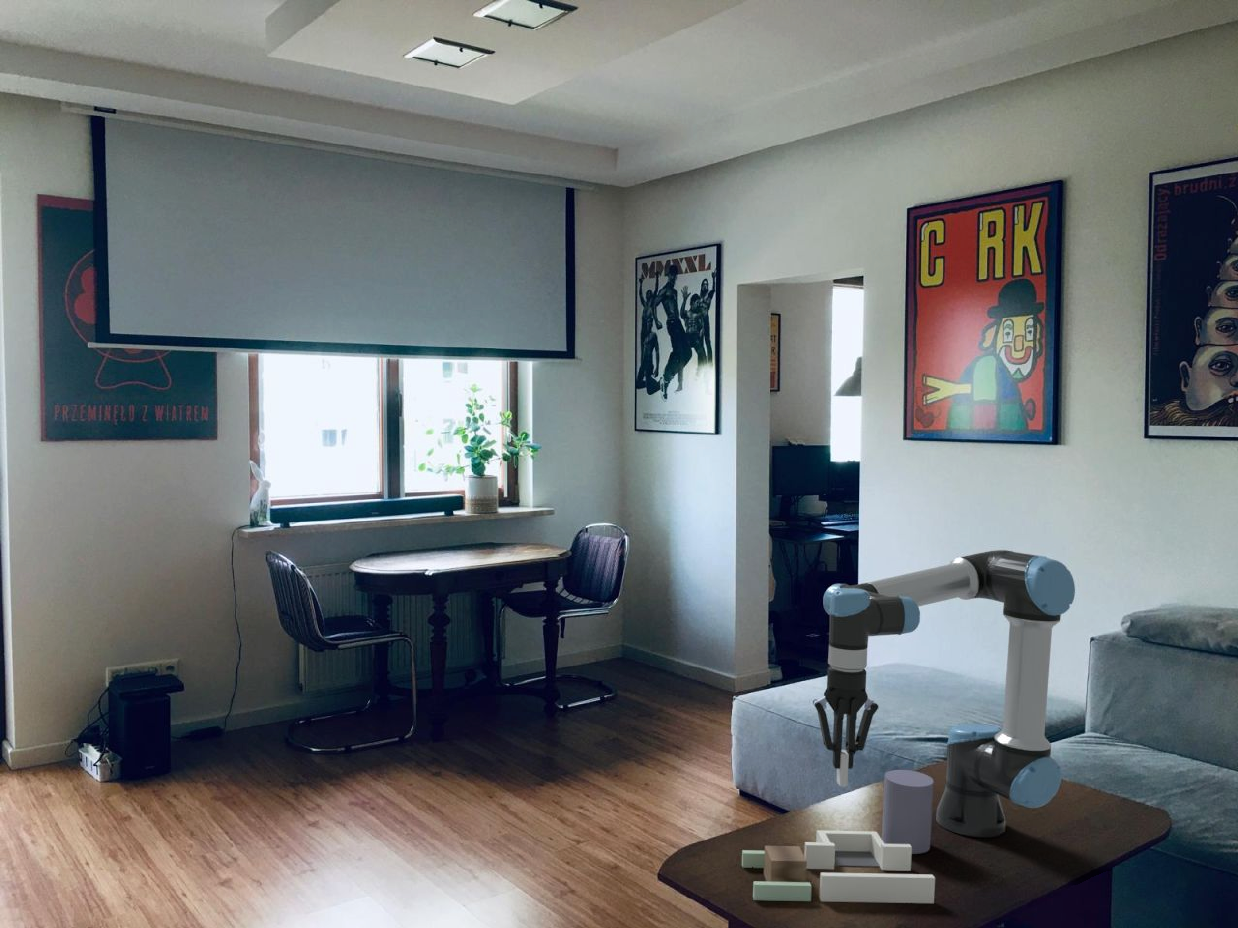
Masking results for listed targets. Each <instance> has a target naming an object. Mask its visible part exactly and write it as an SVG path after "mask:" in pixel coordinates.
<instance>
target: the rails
mask: <svg viewBox="0 0 1238 928" xmlns="http://www.w3.org/2000/svg"><path fill="white" fill-rule="evenodd" d="M764 855H765V850H755V849H753V850H752V849H751V850H749V849H747V850H745V849H742V850H741V867H742V868H743V869H747V868H748V869H749V868H750V869H751V868H752V867H753V868H752V869H764ZM752 886H753V887H752V898H753V901H780V902H781V901H784V902H785V901H786V902H787V901H789V902H795V901H796V902H812V887H813V886H812V884H811V882H810V881H809V882H808V881H806V882H767V881H766V880H765V881H757V880H756V881H755V880H754V881H753V883H752Z"/></svg>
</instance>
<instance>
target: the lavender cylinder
mask: <svg viewBox="0 0 1238 928" xmlns="http://www.w3.org/2000/svg"><path fill="white" fill-rule="evenodd" d="M883 786H884V787H883V801H882V802H883V803H882V805H883V806H882V824H881V825H882V827H881V839H882V840H883V842H884V843H885V844H910V845H911V847H912V855H918V854H919V855H920V854H923V853H927V852H928V851H930V849H931V840H932V839H931V836H932V818H933V802H934V801H933V800H934V799H933V798H934V797H933V796H934V779H933V778H932V777H931V776H929V775H927V774H926V773H922V772H919V771H916V770H915V771H914V770H907V769H894V770H890V771H889V770H888V771H887V772H885V773H884V785H883Z"/></svg>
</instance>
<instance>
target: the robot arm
mask: <svg viewBox="0 0 1238 928" xmlns="http://www.w3.org/2000/svg"><path fill="white" fill-rule="evenodd" d="M823 594H824V595H823V598H822V599H823V600H822V601H823V609H824V610H825V612H826V613H827V614H828V615H829V626H828V627H829V634H828V655H827V656H828V658H827V664H828V665H829V666H828V667H827V676H826V677H827V680H826V689H825V691H824V693H823V696H822V697H820V698H819V699H814V700H813V701H812V704H813V706H814V707H815V709H816V711H817V714H818V721H819V725H820V731H821V738H822V740H823V744H824V746H825V748H826V749H827V750H828V751H832V765H833V767H834V769H836V783H837V785H839V787H841V788H842V787H848V779H849V770H852V769H853V767H854V756H855V754H856V752H858V751H859V752H861V751H864V748H865V744H866V741H867V738H868V735H869V731H870V727H871V723H872V721H873V717H874V715H875V713H876V712H877V711H878V710H879V704H878V703H877V702H875V700H871V698H869V697H868V696H869V695H868V693H867V690H866V688H867V670H866V667H868V648H869V647H868V646H869V645H868V643H869V637H879V636H892V635H893V636H894V635H896V636H897V635H898V636H900V635H904V634H910V633H913V632H915V631H916V630H917V628H918V626H919V625H920V622H921V611H920V607H923V606H927V605H932V604H936V603H940V602H946V601H948V600H952V599H957V598H959V599H960V600H964V601H969V600H972V599H984V600H985V599H986V600H989V601H990V600H991V601H996V602H1000V603H1003V610H1002V615H1003V616H1004V618H1005V619H1006V620H1007V621H1008V622H1009V630H1008V631H1009V632H1008V646H1007V647H1008V648H1007V659H1006V660H1007V661H1006V675H1005V689H1004V703H1003V715H1002V716H1003V717H1002V718H1003V719H1002V729H1001V728H1000V727H998V726H995V725H990V724H989V725H988V724H982V723H981V724H979V723H965V724H958V725H954V726H953V727H951V728H950V730H949V732H948V739H947V742H946V747H947V748H946V751H947V753H946V770H945V771H946V772H945V774H946V775H945V776H946V777H945V780H946V781H945V788H944V791H943V793H942V797H940V801H939V803H938V806H937V809H936V815H935V817H936V819H935V821H936V822H937V824H938V825H939V826H940V827H942V828H944V829H945V830H948V831H949V832H953V833H955V834H958V835H963V836H967V837H972V838H994V837H998V836H1000V834H1001V835H1002V833H1003V832H1004V833H1005V831H1006V817H1005V814H1004V810H1003V806H1002V803H1001V800H1000V796H1001V797H1003V798H1005V799H1007V800H1009V801H1011V802H1012V803H1014V804H1015V805H1021V806H1023V807H1026V808H1029V809H1037V808H1041V807H1043V806H1045V805H1046V804H1048V803H1049V802H1051V800H1052V799H1053V798H1055V796H1056V795H1057V793H1058V791H1059V788H1060V786H1061V783H1062V775H1063V774H1062V768H1061V767H1060V765H1059V763H1058V762H1057V761H1056V760H1055V759H1054V758H1052V757H1051V754H1052V743H1051V742H1050V741H1049V740H1048V739H1047V738H1046V736H1045V730H1046V716H1047V702H1048V690H1049V689H1048V688H1049V687H1048V686H1049V675H1050V674H1049V673H1050V664H1051V663H1050V662H1051V661H1050V660H1051V648H1052V647H1051V646H1052V633H1053V632H1052V631H1053V628H1054V627H1055V626H1057V624H1058V623H1060V622H1061V617H1062V615H1063V614H1065V613H1066V612H1067V611H1069V609H1070V608H1071V605H1072V604H1073V603H1074V599H1075V596H1076V595H1075V594H1076V586H1075V580H1074V578H1073V574H1072V573H1071V571H1070V570H1069V569H1068V567H1067V566H1066V565H1065V564H1063V562H1061V561H1059V560H1056V559H1053V558H1052V559H1051V558H1049V557H1047V556H1043V555H1036V554H1035V555H1034V554H1030V553H1021V552H1016V551H1012V550H1006V549H1004V550H1003V549H1001V550H999V549H997V550H990V551H985V552H979V553H974V554H971V555H965V556H960V557H956V558H954V559H952V560H950V562H949V564H946V565H945V564H944V565H941V566H937V567H933V568H927V569H923V570H919V571H914V572H911V573H910V572H909V573H905V574H901V575H896V576H891V577H886V578H883V579H877V580H875V581H869V582H864V583H859V584H853V585H849V584H847V583H834V584H832V585H831V586H829V587H828V588H827V589H826V591H825V592H824V593H823ZM827 703H828V705H829V706H830V708H831V710H833V729H832V730H833V731H832V732H833V733H832V736H831V731H830V726H829V722H828V716H827V715H828V714H827V712H826V709H827ZM862 707H864V710H863V713H862V716H861V720H860V723H859V727H858V730H857V734H856V727H857V722H856V721H857V716H858V715H857V714H858V712H859V711H860V710H861V708H862ZM845 716H846V720H845V721H846V723H845V725H846V727H845V749H843V726H844V718H845ZM1004 833H1003V834H1004Z"/></svg>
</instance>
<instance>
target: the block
mask: <svg viewBox="0 0 1238 928" xmlns="http://www.w3.org/2000/svg"><path fill="white" fill-rule="evenodd" d="M764 851H765V855H764V868H763V876H764V878H765V882H807V869H806V866H807V861H806V859H805V857H804V853H803V851H802V849H801V847H800V846H799V845H795V846H794V845H764Z"/></svg>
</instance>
